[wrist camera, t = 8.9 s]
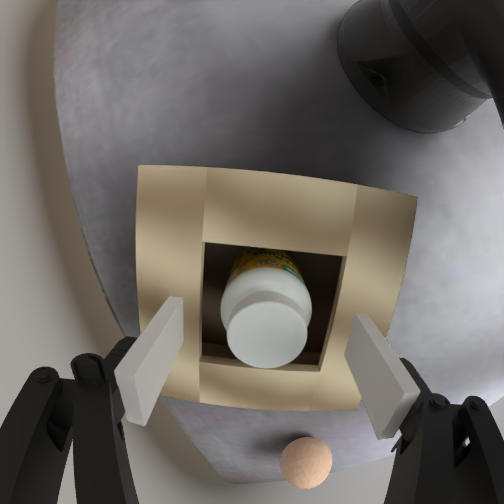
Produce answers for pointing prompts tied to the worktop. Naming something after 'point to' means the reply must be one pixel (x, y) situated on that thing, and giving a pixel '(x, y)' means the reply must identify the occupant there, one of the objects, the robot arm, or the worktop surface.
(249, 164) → the worktop surface
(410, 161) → the worktop surface
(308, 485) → the egg
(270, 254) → the supplement bottle
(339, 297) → the drop box
